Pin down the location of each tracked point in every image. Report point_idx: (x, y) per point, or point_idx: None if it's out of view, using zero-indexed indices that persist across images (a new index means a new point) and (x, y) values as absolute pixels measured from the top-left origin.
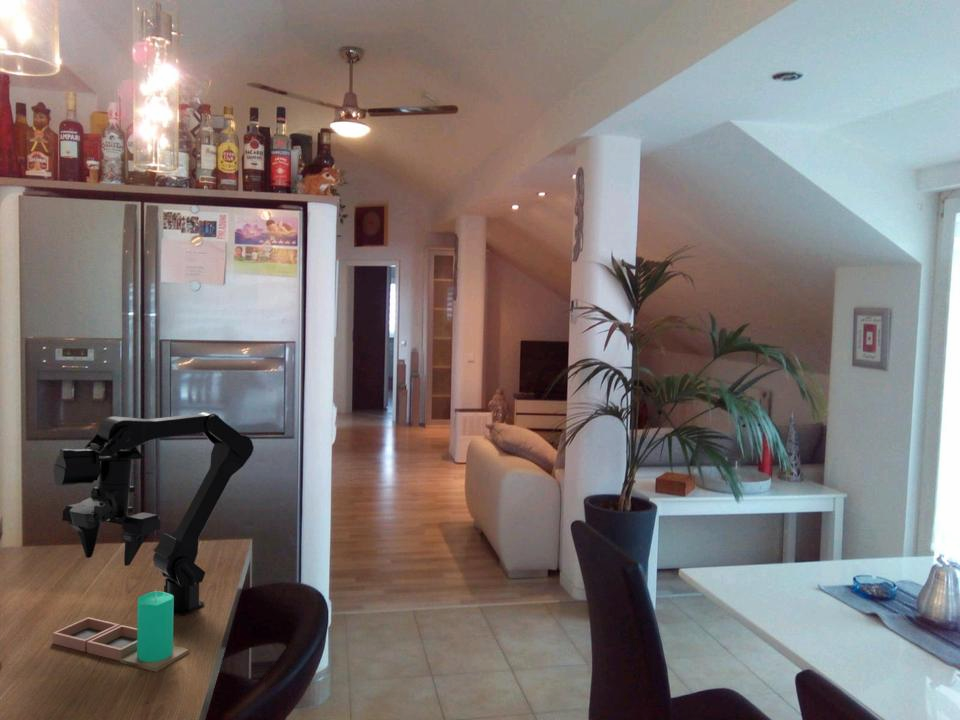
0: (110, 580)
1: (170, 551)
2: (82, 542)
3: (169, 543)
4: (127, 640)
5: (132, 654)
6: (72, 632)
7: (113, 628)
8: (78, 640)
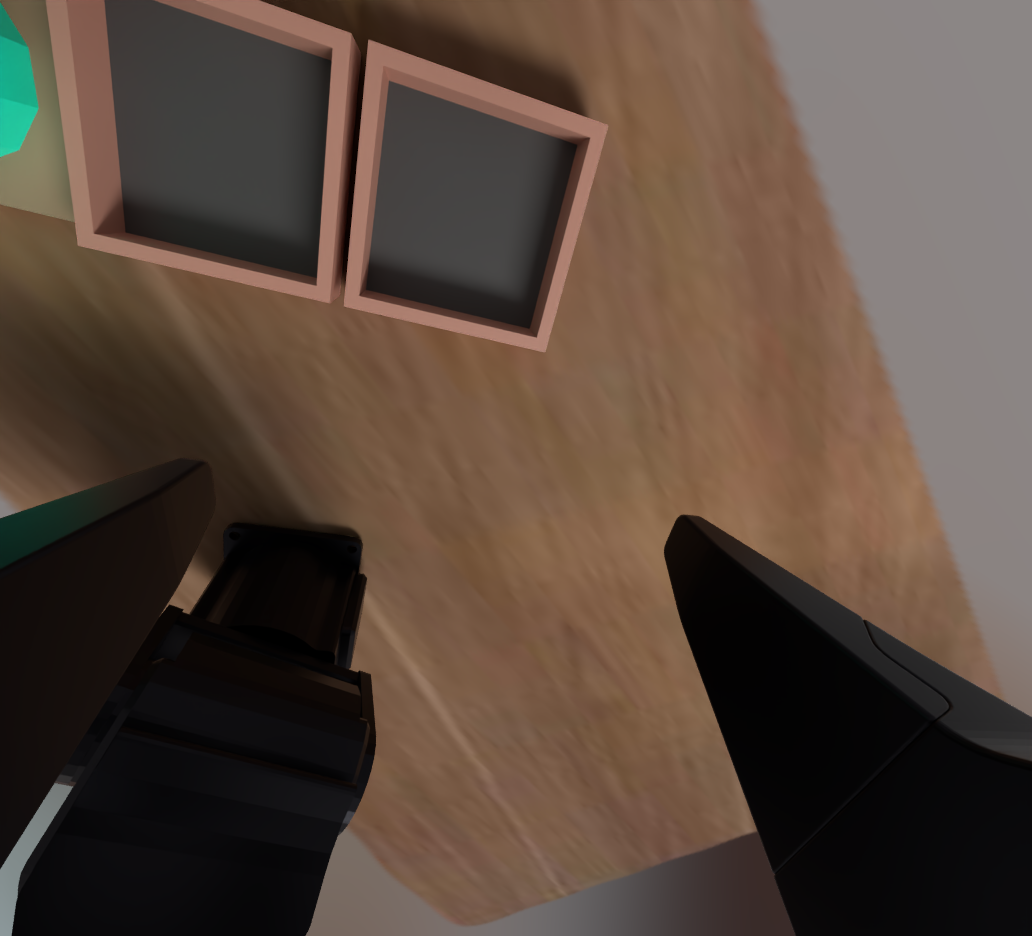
0: (673, 673)
1: (110, 802)
2: (836, 610)
3: (148, 882)
4: (257, 231)
5: (45, 14)
6: (555, 243)
7: (348, 262)
8: (420, 60)
